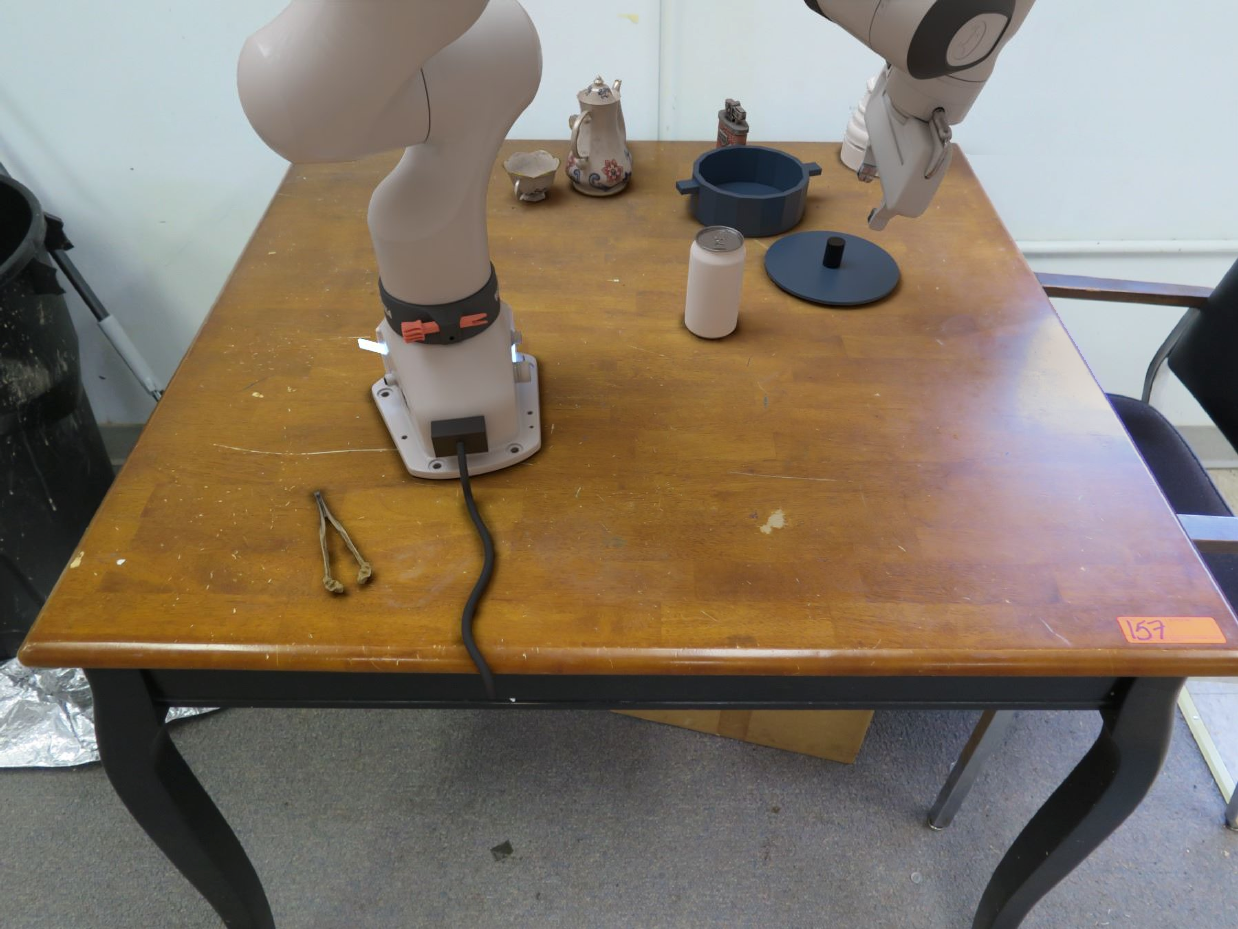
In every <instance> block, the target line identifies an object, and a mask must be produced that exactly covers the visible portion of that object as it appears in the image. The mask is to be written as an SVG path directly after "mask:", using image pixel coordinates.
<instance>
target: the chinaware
mask: <svg viewBox="0 0 1238 929" xmlns="http://www.w3.org/2000/svg"><path fill="white" fill-rule="evenodd" d="M604 82H605V81H604V79H602V76H601V75H599V74H598V75H596V76H595V79H593V83H591V84H590V85H589V86H588V87H587V88H583V89H582V90H579V91H578V92H577V94H575V95H576V99H577V100H578V106H579V109H580V114H572V115H569V118H568V126H569V129H570V130H571V133H570V134H571V135H570V152H569V154H568V156H567V162H566V165H565V168H564V171H565V175H566V176H567V177H568V178H569V179H570V181H572V186H573V188H574V190H576V191H577V192H579V193H580V194H583V195H586V196H591V197H609V196H614V195H616V194H619V193H621V192H622V191H623V190H625V188H626V187H627V182H628V181H629V180H630V179H631V177H632V175H633V165H634V157H633V156H632V154H631V152H630V150H628V148H627V146H626V144H627V130H626V128H627V127H626V122H625V116H624V113H623V108H622V102H621V98H622V95H621V92H620V91H621V86H622V82H623V81H622V79H620V78H619V79H618V78H617V79H615V80H614V82H613V83H612V87H611V88H610V87H609V85H608V84H606V83H604ZM561 165H562V160H561V159H560V158H559V157H554V156H553V155H552V154H551V153H550V152H549V151H548V150H545V149H537V150H534V151H532V152H527V151H523V150H520V151H519V150H518V151H514V152H513V153H511V154H510V155H509V157H508V158H507V160H504V161H502V163H501V167H502V169H503V170H504V171H505V172H506V173H507V174H508V177H509V179H510V181H511V184H512V186H513V188H514V189H513V193H514V198H515V200H516V201H518V202H521V201H523V200H524V201H530V202H537V201H540V200H543V199H545V198H546V194H545V192H547V191H548V190H550V188H551V187H552V185H553V184H554V181H555V179H556V175H557V174H556V173H557V171H558V169H559V168H560V166H561ZM519 192H520V193H522V194H521V195H520V197H519V195H518V194H519Z"/></svg>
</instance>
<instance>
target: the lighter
mask: <svg viewBox="0 0 1238 929" xmlns="http://www.w3.org/2000/svg"><path fill="white" fill-rule="evenodd" d="M717 119H718V125H717V136H716V146H715V149H716V148H719V147H726V146H734V145H747V139H748V134H749V132H750V125H749V123H748V121H747V120H746V119H747V111H746V110H745V109H744V108H743V107H742V106H741V102H740V100H734V99H733V98H732V97H731V98H725V101H724V109H720V110H718V113H717Z"/></svg>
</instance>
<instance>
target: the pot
mask: <svg viewBox="0 0 1238 929" xmlns="http://www.w3.org/2000/svg"><path fill="white" fill-rule="evenodd" d="M822 172H823V168H822V167H821V166H820V165H819V164H818V163H817V162H816V161H811V162H802V160H800V159H799V158H798V157H796V156H794V155H792V154H789V153H788V152H785V151H783V150H781V149H776V148H772V147H767V146H763V145H751V144H749V145H748V144H746V145H734V146H726V147H719V148H716V147H715V148H714V149H711V150H707V151H706V152H702V153H701V155H700V156H698V157H697V158H696V160H694V161H693V163H692V175H691V178H690V179H683V180H676V181H675V189H676V190H677V192H678V193H679V195H680V196H684V195H685V196H686V195H690V202H689V209H690V212H691V214H692V216H693V217H694V218H695V219H696V220H697V222H699V223H700V224H701V225H703V226H705V228H706V227H710V226H725V227H730V228H733V229H735V230H737V231H739V232H740V233H741V234H742V235H743V237H744V238H763V237H771V236H775V235H779V234H782V233H785V232H787V231H789V230H791V229H792V228H794V227H795V226H797V225H798V223H800V220H801V219H802V217H803V214H804V212H805V207H806V206H805V205H806V200H807V195H808V189H809V184H810V180H811V179H810V178H812V177H818V176H821V175H822Z"/></svg>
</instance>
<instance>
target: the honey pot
mask: <svg viewBox="0 0 1238 929" xmlns="http://www.w3.org/2000/svg"><path fill="white" fill-rule="evenodd" d="M884 66H885V64H884V65H883V66H882V67H881V69H880V70H879V71H878V73H877V74H876V75H874V76H871V77H870V78H869V79H868V80H867V82H866V85H865V86H866V89H867V90H866V91H865V93H864V95H863V97H862V98H861V99H860V100H859V101H858V103H857V107H856V108H855V109H854V111H853V113H852V115H851V117H850V118H849V120H848V121H847V123H846V129H845V133H844V137H843V142H842V146H841V151H840V160H841V161H842V163H843V164H844V165H846V167H847V168H849V169H851V170H853V171H855V172H857V169H858V167H859V165H860V163H861V161H862V158H863V154H864V150H865V146H866V142H867V140H868V138H869V136H868V132H867V128H866V125H865V121H864V115H865V110H866V106H867V103H868V100H869V98H870V95H871V93H872V91H873V88H874V86H875V84H876V82H877V79H878V77H879V75H880V73H881V71H882V69H883V67H884ZM874 177H878V178H879V175H878V171H877V173H876V175H875V176H874Z"/></svg>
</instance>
